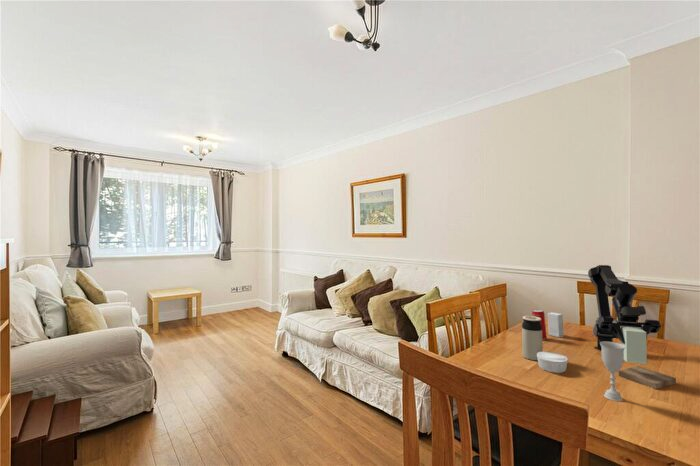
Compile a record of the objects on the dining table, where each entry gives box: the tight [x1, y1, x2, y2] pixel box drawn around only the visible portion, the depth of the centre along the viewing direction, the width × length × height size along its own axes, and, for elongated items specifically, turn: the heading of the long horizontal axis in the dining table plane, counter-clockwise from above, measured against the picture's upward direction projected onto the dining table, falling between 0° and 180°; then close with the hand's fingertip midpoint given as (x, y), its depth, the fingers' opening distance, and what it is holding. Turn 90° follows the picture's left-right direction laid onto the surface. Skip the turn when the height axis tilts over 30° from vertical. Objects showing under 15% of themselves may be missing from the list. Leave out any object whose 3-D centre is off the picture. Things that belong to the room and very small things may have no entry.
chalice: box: [600, 341, 626, 402], centre depth 113 cm, size 7×7×18 cm
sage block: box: [620, 326, 648, 365], centre depth 128 cm, size 6×6×12 cm
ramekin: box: [537, 351, 569, 374], centre depth 138 cm, size 11×11×5 cm
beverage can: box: [531, 309, 548, 341], centre depth 176 cm, size 6×6×15 cm
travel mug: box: [521, 315, 544, 361], centre depth 150 cm, size 8×8×18 cm
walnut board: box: [618, 365, 677, 390], centre depth 126 cm, size 12×12×2 cm
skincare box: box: [547, 312, 565, 338], centre depth 180 cm, size 6×4×12 cm
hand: (634, 344), depth 126 cm, fingers closed on sage block, 6 cm apart
